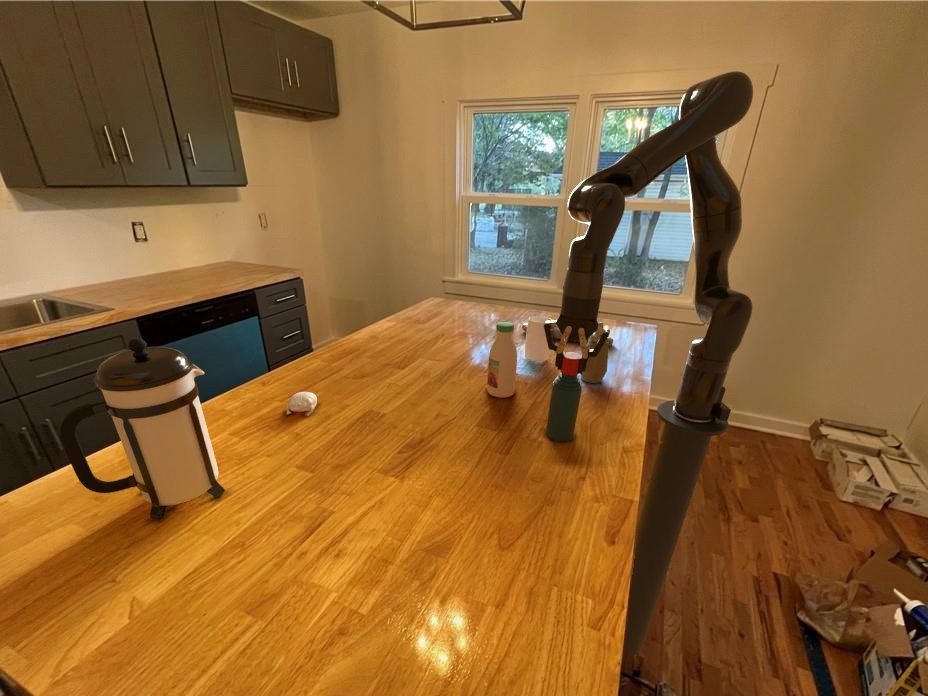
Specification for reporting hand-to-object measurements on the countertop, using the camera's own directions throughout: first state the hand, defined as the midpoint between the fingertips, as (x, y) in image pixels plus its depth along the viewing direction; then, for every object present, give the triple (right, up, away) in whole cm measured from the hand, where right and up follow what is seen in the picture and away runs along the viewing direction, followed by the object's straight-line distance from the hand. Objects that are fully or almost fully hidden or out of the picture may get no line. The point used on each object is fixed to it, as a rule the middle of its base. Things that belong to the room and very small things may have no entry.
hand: (569, 370), depth 92 cm
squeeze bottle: (+16, -2, +36) cm, 39 cm away
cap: (0, 0, 0) cm, 0 cm away
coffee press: (-76, -24, -15) cm, 81 cm away
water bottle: (-1, -15, +8) cm, 17 cm away
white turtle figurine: (-64, -10, +15) cm, 67 cm away
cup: (+1, +5, +49) cm, 49 cm away
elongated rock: (+16, +14, +70) cm, 74 cm away
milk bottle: (-13, -6, +27) cm, 30 cm away
